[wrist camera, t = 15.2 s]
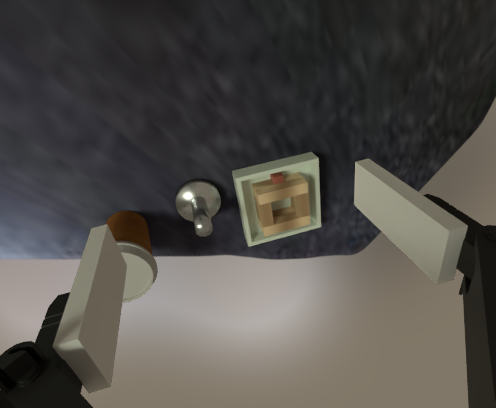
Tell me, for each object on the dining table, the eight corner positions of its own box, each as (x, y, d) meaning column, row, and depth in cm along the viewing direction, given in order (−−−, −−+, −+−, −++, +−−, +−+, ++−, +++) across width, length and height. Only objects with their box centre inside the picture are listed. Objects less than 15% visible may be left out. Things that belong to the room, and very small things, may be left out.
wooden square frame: (258, 223, 56) (264, 236, 53) (250, 177, 51) (257, 188, 48) (301, 211, 57) (310, 224, 54) (297, 165, 52) (307, 175, 49)
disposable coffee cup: (149, 255, 55) (146, 309, 45) (89, 245, 51) (71, 301, 41) (165, 209, 51) (166, 256, 41) (101, 194, 48) (85, 242, 37)
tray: (232, 171, 51) (235, 178, 48) (311, 151, 52) (318, 158, 50) (245, 237, 58) (248, 246, 55) (314, 218, 59) (321, 226, 57)
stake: (170, 184, 49) (171, 215, 42) (214, 174, 50) (224, 201, 43) (181, 221, 53) (185, 255, 45) (222, 211, 54) (233, 242, 46)
